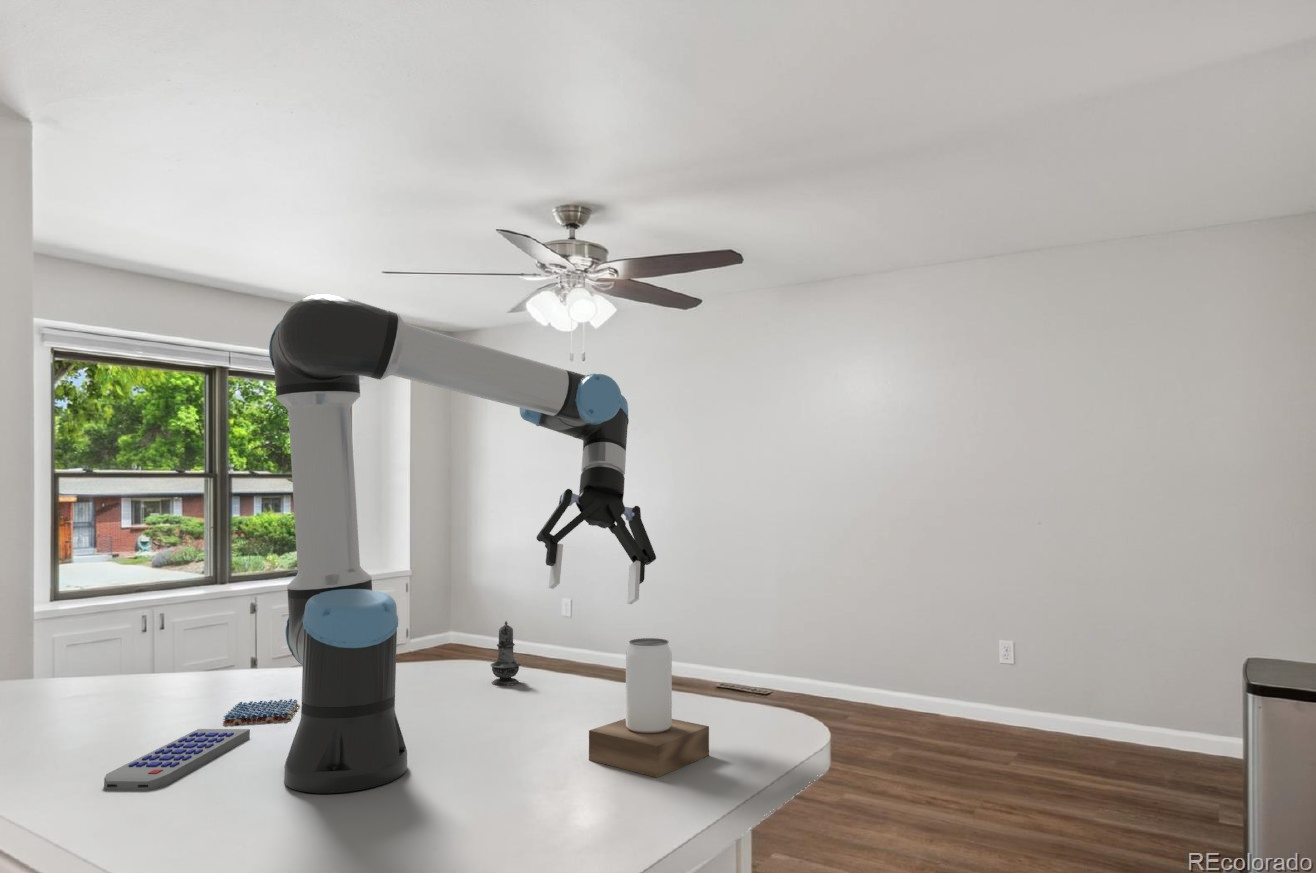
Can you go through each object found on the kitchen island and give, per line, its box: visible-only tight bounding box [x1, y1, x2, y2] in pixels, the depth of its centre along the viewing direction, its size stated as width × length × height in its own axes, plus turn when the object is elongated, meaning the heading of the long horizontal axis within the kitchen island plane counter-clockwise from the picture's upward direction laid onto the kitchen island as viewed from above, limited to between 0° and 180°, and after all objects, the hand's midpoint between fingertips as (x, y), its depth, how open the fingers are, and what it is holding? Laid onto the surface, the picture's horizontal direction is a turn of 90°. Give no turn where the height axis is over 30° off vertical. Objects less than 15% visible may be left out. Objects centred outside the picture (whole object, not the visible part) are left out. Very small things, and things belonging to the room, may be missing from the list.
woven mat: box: [222, 698, 301, 726], centre depth 139 cm, size 10×11×2 cm
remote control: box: [103, 728, 251, 791], centre depth 115 cm, size 8×23×2 cm, turn 179°
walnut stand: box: [588, 718, 710, 778], centre depth 117 cm, size 12×12×4 cm
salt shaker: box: [490, 620, 522, 687], centre depth 164 cm, size 6×6×12 cm
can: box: [625, 637, 673, 734], centre depth 117 cm, size 6×6×12 cm
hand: (594, 594), depth 131 cm, fingers open, 13 cm apart
